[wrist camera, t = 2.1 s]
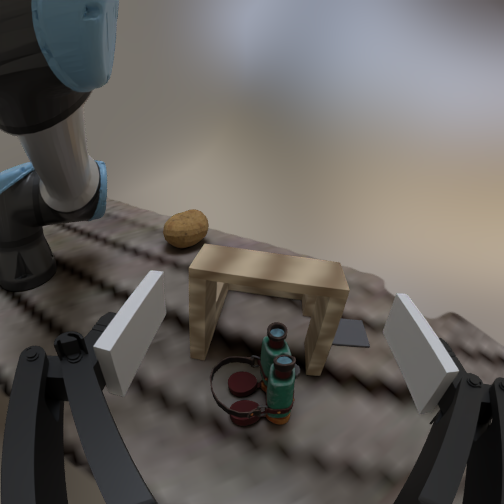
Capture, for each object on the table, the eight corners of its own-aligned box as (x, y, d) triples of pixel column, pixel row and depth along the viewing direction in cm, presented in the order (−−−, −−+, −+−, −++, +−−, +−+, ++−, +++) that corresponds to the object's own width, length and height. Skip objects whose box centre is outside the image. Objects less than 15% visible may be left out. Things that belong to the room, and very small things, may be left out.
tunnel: (190, 357, 38) (188, 267, 32) (220, 282, 57) (224, 213, 51) (319, 376, 37) (349, 290, 31) (311, 295, 56) (326, 227, 50)
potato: (152, 250, 67) (151, 218, 63) (184, 232, 79) (184, 204, 75) (186, 260, 64) (186, 226, 61) (215, 240, 76) (217, 210, 73)
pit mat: (322, 343, 43) (323, 342, 43) (319, 317, 50) (319, 316, 50) (369, 347, 43) (369, 346, 43) (361, 321, 49) (361, 320, 49)
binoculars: (205, 318, 31) (295, 314, 32) (213, 379, 36) (288, 375, 37) (202, 380, 23) (315, 372, 24) (213, 436, 28) (301, 429, 29)
